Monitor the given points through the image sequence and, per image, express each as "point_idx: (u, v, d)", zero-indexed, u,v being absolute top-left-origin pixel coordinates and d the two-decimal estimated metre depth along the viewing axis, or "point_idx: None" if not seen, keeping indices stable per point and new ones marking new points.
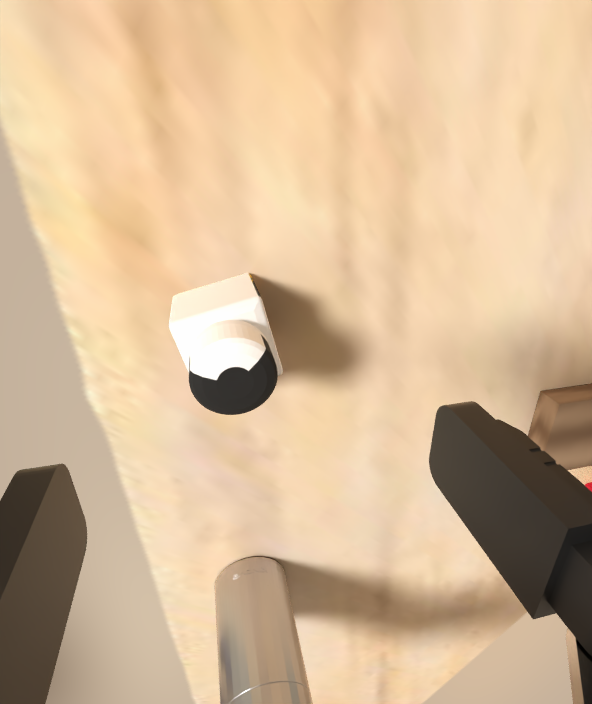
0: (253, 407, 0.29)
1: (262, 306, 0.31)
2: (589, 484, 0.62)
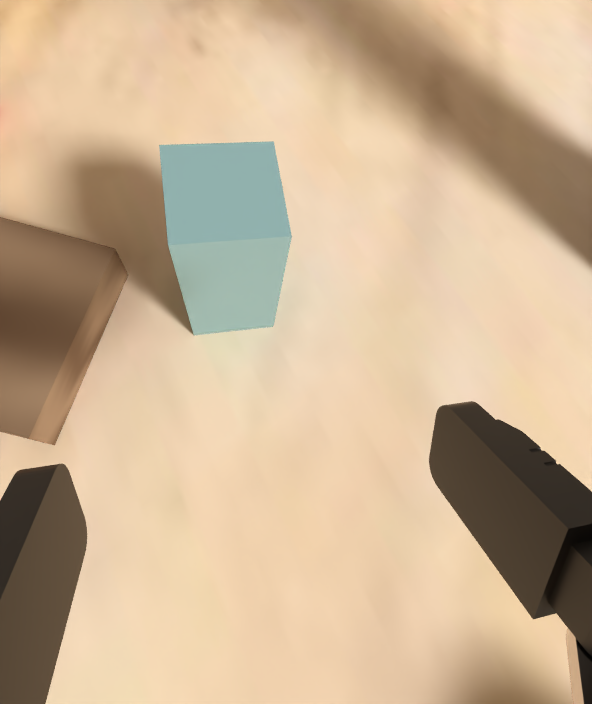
0: None
1: None
2: None
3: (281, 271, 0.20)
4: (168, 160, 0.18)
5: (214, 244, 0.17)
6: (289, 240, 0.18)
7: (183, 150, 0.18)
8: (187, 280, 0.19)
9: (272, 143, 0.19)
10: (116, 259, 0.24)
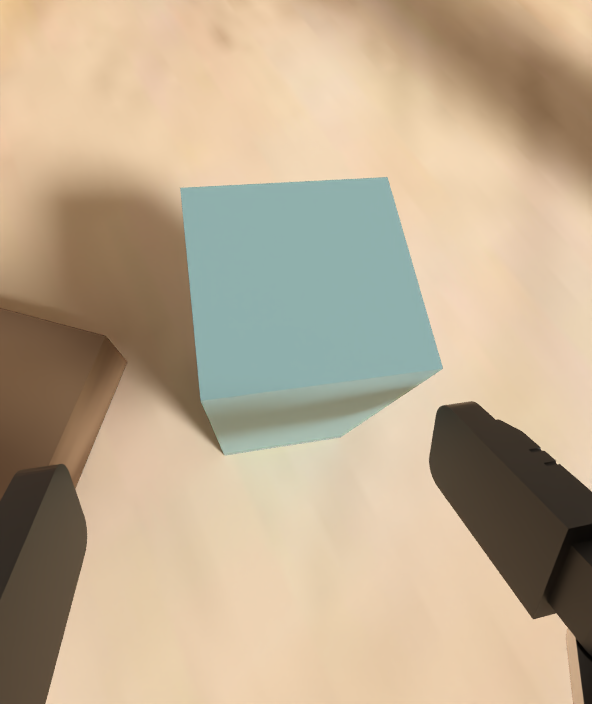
0: None
1: None
2: None
3: (390, 400, 0.11)
4: (199, 217, 0.09)
5: (291, 391, 0.08)
6: (434, 372, 0.09)
7: (226, 198, 0.10)
8: (228, 424, 0.11)
9: (386, 180, 0.10)
10: (108, 350, 0.16)
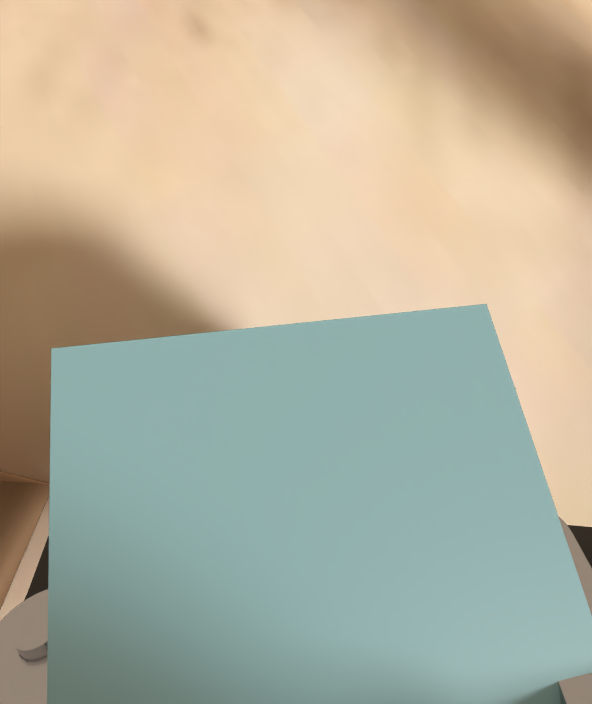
0: None
1: None
2: None
3: None
4: (88, 424, 0.04)
5: None
6: None
7: (155, 370, 0.04)
8: None
9: (484, 312, 0.05)
10: (12, 493, 0.11)
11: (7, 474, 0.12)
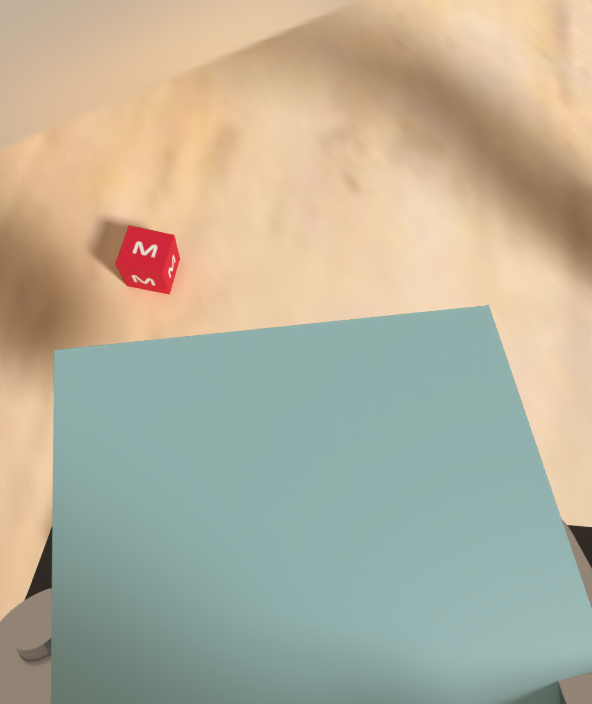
0: None
1: None
2: (163, 291, 0.29)
3: None
4: (91, 426, 0.04)
5: None
6: None
7: (157, 372, 0.04)
8: None
9: (487, 313, 0.05)
10: None
11: None
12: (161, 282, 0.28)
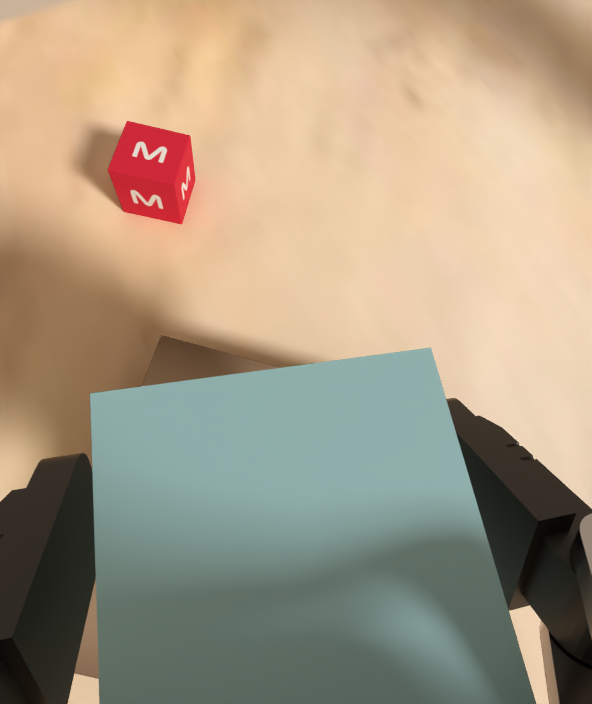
0: None
1: None
2: (173, 219, 0.21)
3: None
4: (119, 451, 0.05)
5: None
6: None
7: (169, 407, 0.06)
8: None
9: (429, 354, 0.06)
10: None
11: None
12: (171, 202, 0.20)
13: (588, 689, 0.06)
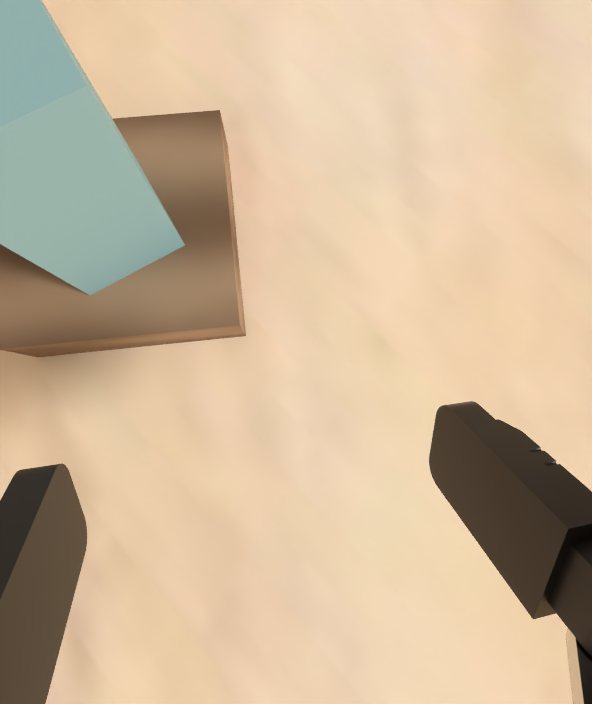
0: None
1: None
2: None
3: (125, 159, 0.13)
4: None
5: None
6: (90, 94, 0.10)
7: None
8: None
9: None
10: (222, 125, 0.22)
11: None
12: None
13: None
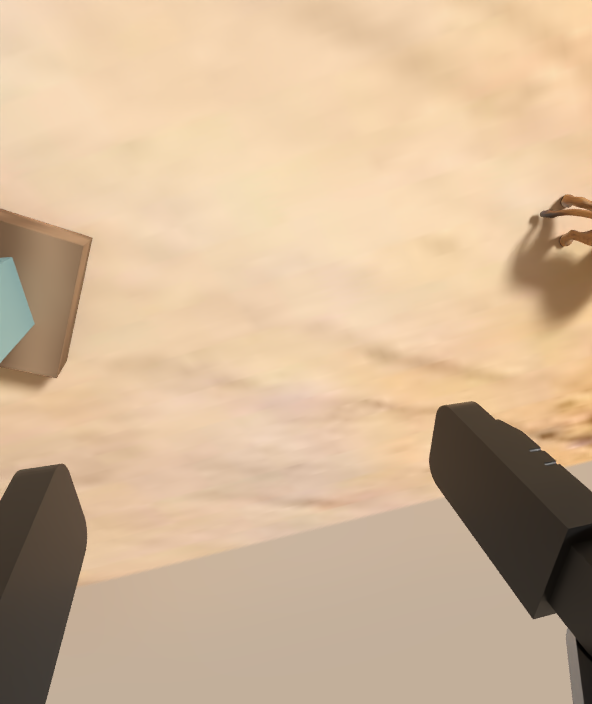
0: None
1: None
2: None
3: None
4: None
5: None
6: None
7: None
8: None
9: None
10: None
11: None
12: None
13: None
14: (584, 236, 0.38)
